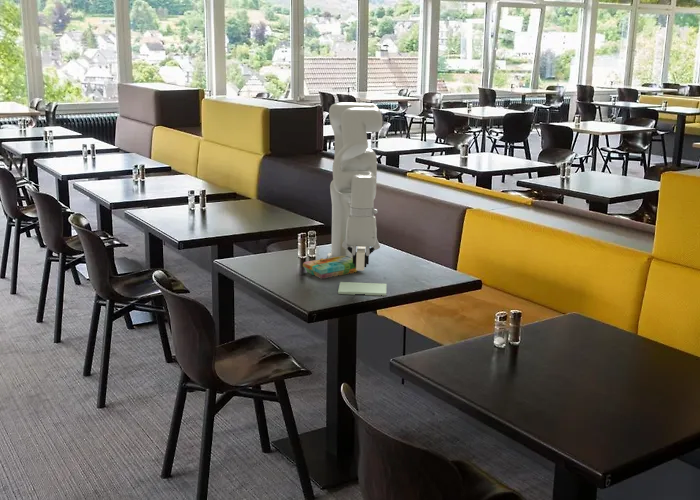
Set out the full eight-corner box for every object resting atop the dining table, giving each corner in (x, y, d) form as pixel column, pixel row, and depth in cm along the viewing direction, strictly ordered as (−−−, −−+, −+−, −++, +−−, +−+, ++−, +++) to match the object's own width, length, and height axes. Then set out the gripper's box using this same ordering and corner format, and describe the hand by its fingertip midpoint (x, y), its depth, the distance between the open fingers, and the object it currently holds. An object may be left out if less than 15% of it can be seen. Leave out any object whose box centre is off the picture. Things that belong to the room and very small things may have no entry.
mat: (340, 284, 273) (340, 281, 272) (386, 285, 272) (386, 283, 272) (337, 293, 262) (337, 291, 262) (386, 295, 261) (386, 293, 261)
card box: (357, 263, 269) (357, 246, 268) (364, 263, 269) (365, 246, 267) (355, 270, 260) (356, 252, 259) (363, 270, 260) (364, 252, 259)
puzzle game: (303, 260, 285) (347, 253, 297) (302, 273, 286) (347, 265, 298) (321, 268, 276) (366, 260, 288) (321, 280, 277) (366, 272, 289)
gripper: (386, 210, 264) (384, 264, 268) (338, 209, 264) (337, 262, 269) (386, 215, 256) (384, 270, 261) (336, 213, 257) (335, 268, 261)
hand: (360, 265), depth 265 cm, fingers closed on card box, 2 cm apart
